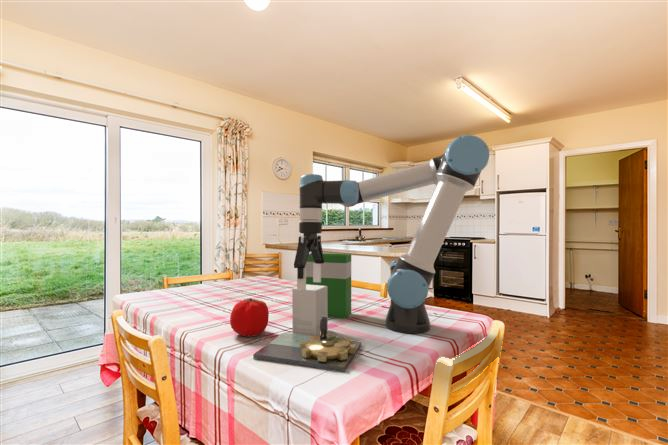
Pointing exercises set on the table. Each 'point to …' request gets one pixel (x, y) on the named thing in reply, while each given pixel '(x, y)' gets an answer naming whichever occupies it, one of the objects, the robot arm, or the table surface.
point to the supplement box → (309, 309)
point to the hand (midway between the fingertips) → (309, 285)
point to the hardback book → (334, 282)
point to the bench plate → (300, 353)
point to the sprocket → (327, 345)
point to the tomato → (249, 317)
